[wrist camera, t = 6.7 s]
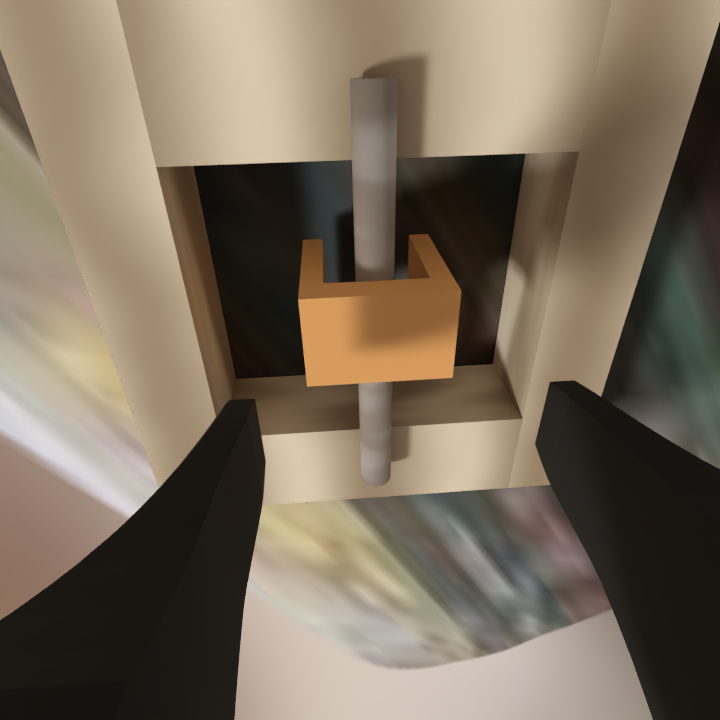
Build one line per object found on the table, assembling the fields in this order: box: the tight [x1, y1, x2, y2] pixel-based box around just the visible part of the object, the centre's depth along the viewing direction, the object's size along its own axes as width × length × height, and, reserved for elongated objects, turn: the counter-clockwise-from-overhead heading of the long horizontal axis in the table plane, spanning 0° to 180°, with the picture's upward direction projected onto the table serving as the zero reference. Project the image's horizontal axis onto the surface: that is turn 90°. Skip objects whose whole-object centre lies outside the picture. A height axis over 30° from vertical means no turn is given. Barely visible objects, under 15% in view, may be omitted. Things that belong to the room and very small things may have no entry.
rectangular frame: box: [0, 0, 720, 505], centre depth 17 cm, size 18×18×5 cm
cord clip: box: [298, 234, 461, 387], centre depth 16 cm, size 5×3×5 cm, turn 91°
